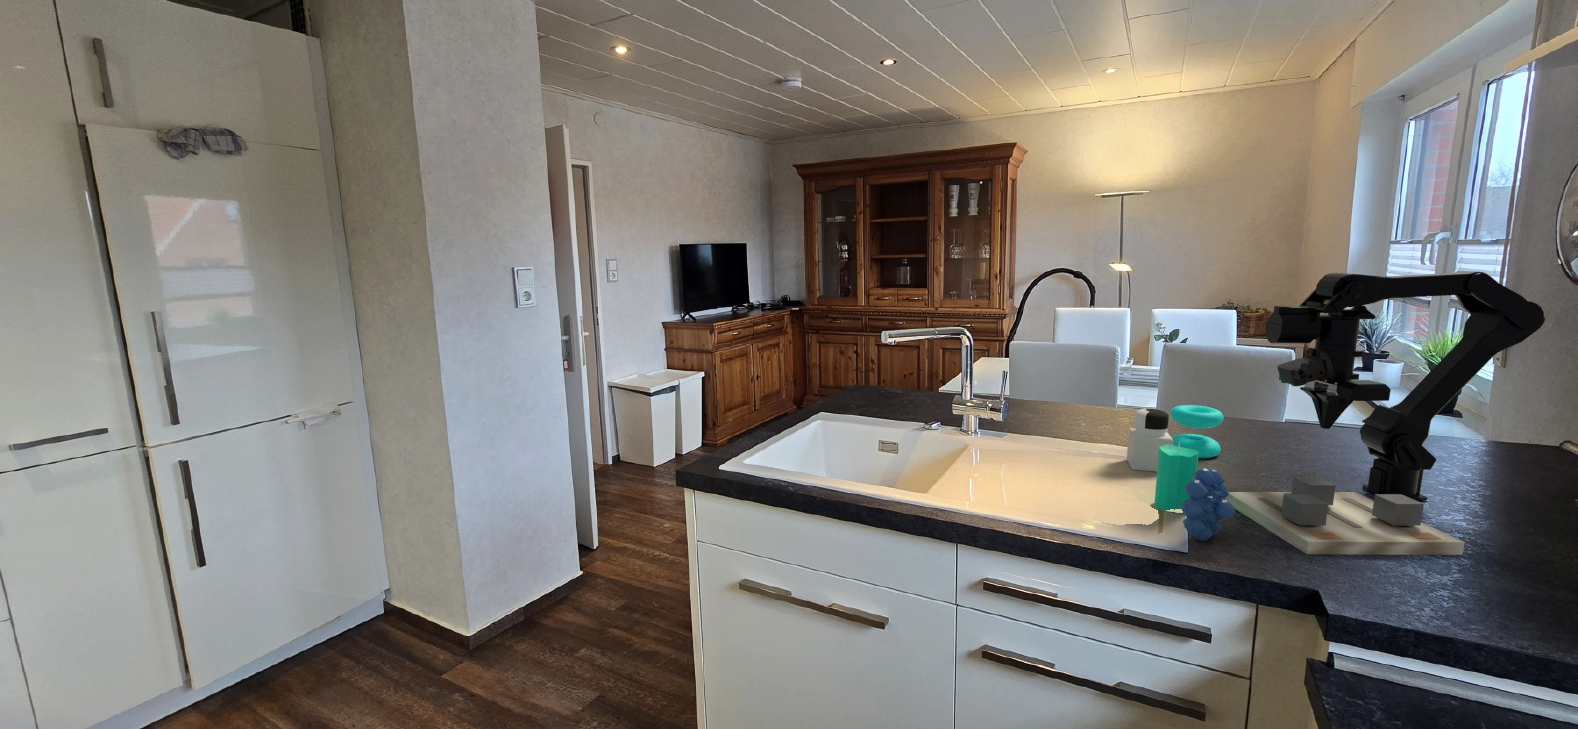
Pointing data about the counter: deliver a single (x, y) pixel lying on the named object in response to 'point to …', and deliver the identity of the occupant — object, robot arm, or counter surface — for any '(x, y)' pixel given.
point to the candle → (1174, 475)
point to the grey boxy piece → (1397, 509)
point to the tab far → (1304, 509)
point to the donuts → (1197, 419)
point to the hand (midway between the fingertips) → (1325, 428)
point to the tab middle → (1314, 488)
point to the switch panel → (1345, 528)
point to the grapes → (1206, 504)
